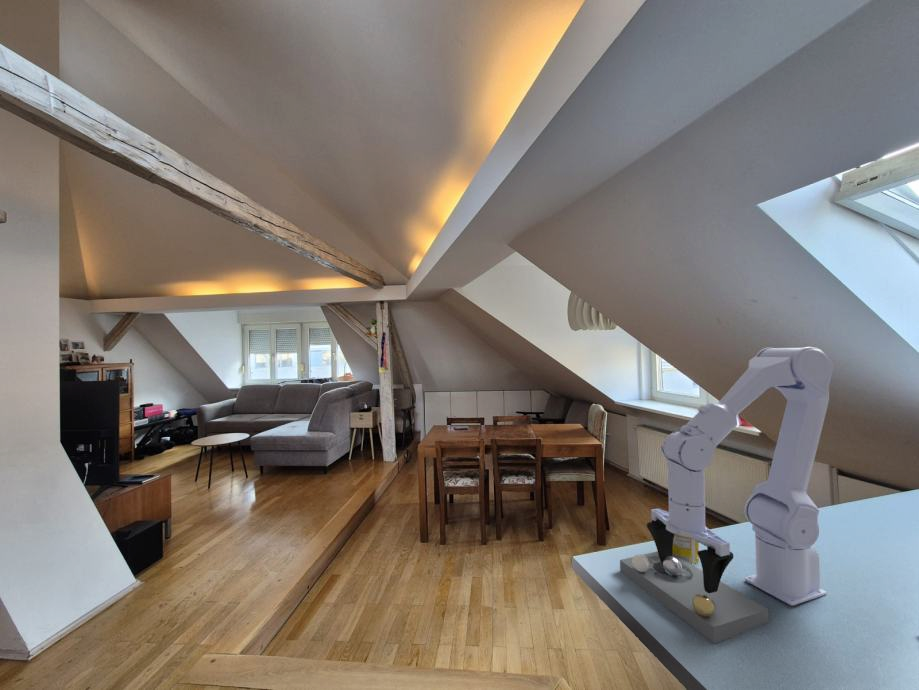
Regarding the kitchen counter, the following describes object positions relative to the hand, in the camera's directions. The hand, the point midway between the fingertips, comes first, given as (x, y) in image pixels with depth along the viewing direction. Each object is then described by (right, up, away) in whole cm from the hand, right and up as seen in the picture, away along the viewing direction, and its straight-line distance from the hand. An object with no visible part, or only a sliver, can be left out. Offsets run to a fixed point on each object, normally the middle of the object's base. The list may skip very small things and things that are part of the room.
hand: (687, 575), depth 69 cm
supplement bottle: (+6, -4, +11) cm, 14 cm away
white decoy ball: (-7, 0, +4) cm, 8 cm away
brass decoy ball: (-2, 0, -8) cm, 9 cm away
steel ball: (-1, 0, +3) cm, 3 cm away
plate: (0, -4, 0) cm, 4 cm away
